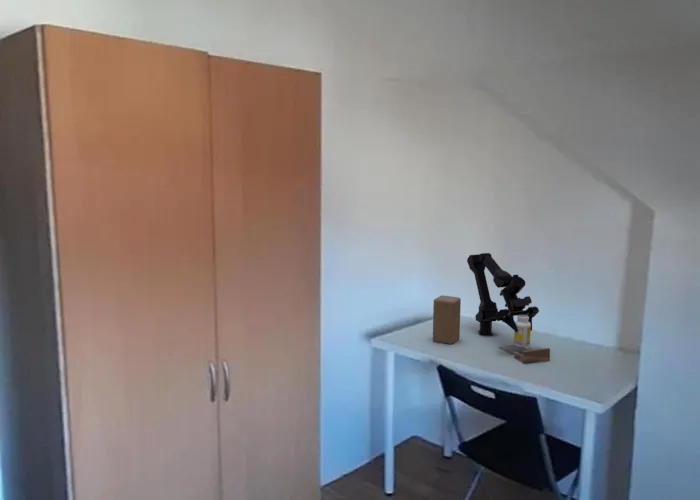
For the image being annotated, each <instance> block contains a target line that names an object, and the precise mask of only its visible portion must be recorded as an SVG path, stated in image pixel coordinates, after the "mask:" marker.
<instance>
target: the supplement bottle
mask: <svg viewBox="0 0 700 500" xmlns="http://www.w3.org/2000/svg"><path fill="white" fill-rule="evenodd" d="M516 318H517V320H516V321H515V324H516V326H517V329H518V332H515V331H514V330H513V332H514V333H513V335H514V336H513V345H516V346H519V347H525V348H527V347H529V346H530V345H531V323H530V322H528V320H529V316H527V315H518V316H516Z"/></svg>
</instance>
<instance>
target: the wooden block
mask: <svg viewBox="0 0 700 500" xmlns="http://www.w3.org/2000/svg"><path fill="white" fill-rule="evenodd" d="M432 311H433V313H432V316H433V318H432V319H433V321H432V341H433V342H436V343H442V344H448V345H453V344H454V343H456V342H457V341H458V340H459V339H460V336H461V335H460V333H461V330H460V329H461V326H460V325H461V298H460V297H459V296H458V297H457V296H449V295H440V296H438V297H436V298H434V299H433V310H432Z"/></svg>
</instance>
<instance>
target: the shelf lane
mask: <svg viewBox="0 0 700 500" xmlns="http://www.w3.org/2000/svg"><path fill="white" fill-rule="evenodd" d="M550 355H551V348H549V347H545V348H544V347H543V348H539V349H538V348H537V349H528V350H527V351H523V354H520V353H518V352H514V355H513V358H514V359H515V360H517V361H519V362H521V363H522V364H531V363H540V362H548V361H550V360H551V359H550V357H551V356H550Z"/></svg>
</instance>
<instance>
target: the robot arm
mask: <svg viewBox="0 0 700 500" xmlns="http://www.w3.org/2000/svg"><path fill="white" fill-rule="evenodd" d="M466 261H467V264H468V268H469V270H471V272H472V273H473V274H474V278H475V279H474V280H475V282H476V288H477V292H478V295H479V301H480V303H479V305H478V312H477V313H476V314H475V316H474V317H475V321H476V322H478V323H479V329H478V331H477V332H478V335H479V336H493V335H494V332H493V330H492V329H493V322H500V321H501V322H502V323H504V324H506V325H507V326H508V327H509V328H511V329H512V330H513V332H514V331H515V332H518V329H517V326H516V324H515V322H516V321H515V320H514V319H515V318H514V316H515V317H518V315H527V316H529V320H528V322H530V323H531V331H533V318H534V317H536V316H537V314H539V312H540V310H539V307H538V306H530V305H531V304H532V302H533V301H532V299H531V296H529V295H527V296H524V297H523V298H521V297H519V296H518V295H517V294H520V292H521V291H522V290H523V289H524V287H525V286H526V281H525V279H524V278H523V277H521V276H519V274H513V275H511V274H510V273H509V272H508V271H506V270H503V269H502V268H501V266H500V265H499V264H498V263H497V262H496V260H495V259H494V258H493V257H492V254H491V253H490V252H483V253H479V254H470V255H469V256H468V257H467V259H466ZM485 269H487V270H488V272H489V273H490V274H491V275H492V279H493V280H492V281H493V283H494V284H495V286H496V287H497V288H502V289H500V292H499V296H502V297H503V299H504V302H505V304H504V307H505V309H504V308H503V309H498V306H497V303H496V302H495V301H493V300H492V299H491V294H490V291H489V285H488V282H487V276H486V273H485ZM527 306H528V308H526V307H527ZM524 309H525V310H524Z"/></svg>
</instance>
